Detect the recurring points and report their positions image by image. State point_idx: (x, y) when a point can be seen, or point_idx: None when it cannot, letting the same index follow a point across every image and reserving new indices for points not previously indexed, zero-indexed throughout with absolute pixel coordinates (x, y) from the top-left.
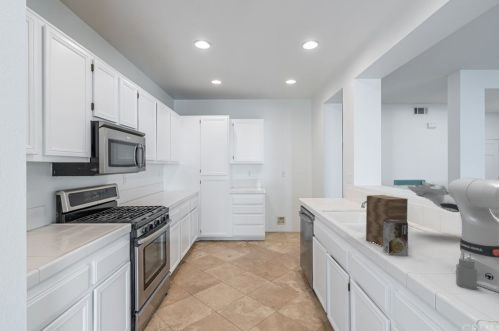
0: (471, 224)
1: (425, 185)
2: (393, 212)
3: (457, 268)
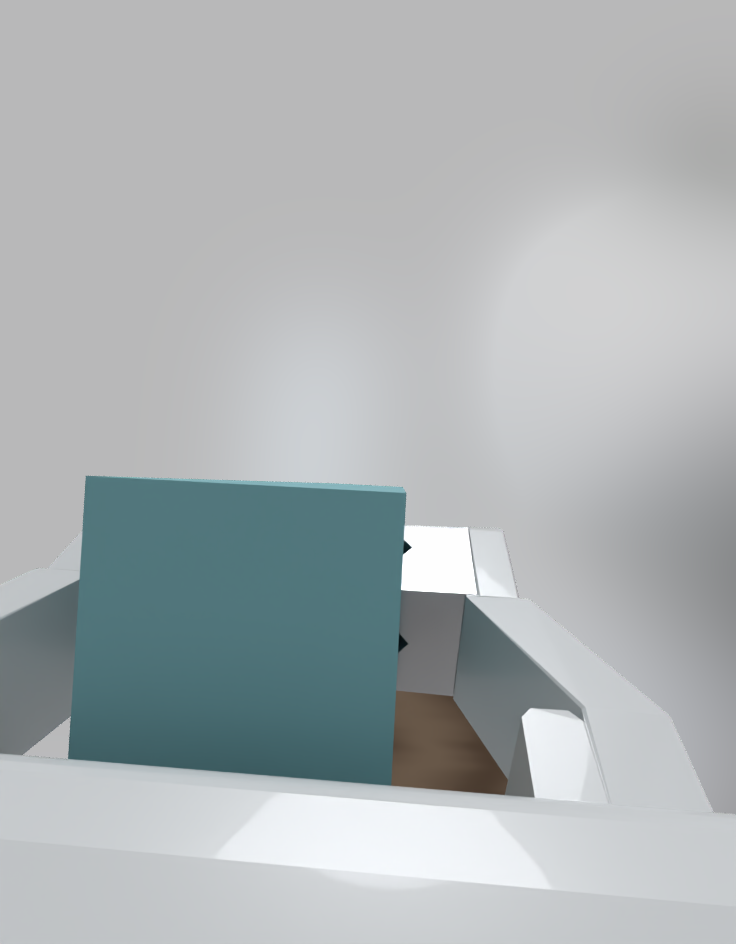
0: None
1: (39, 707)
2: None
3: None
